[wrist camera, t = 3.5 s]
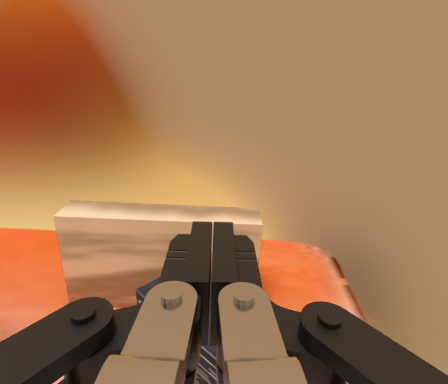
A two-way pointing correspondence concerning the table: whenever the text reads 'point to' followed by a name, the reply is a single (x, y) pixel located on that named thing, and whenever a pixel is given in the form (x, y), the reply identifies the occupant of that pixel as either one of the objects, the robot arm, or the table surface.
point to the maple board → (131, 243)
